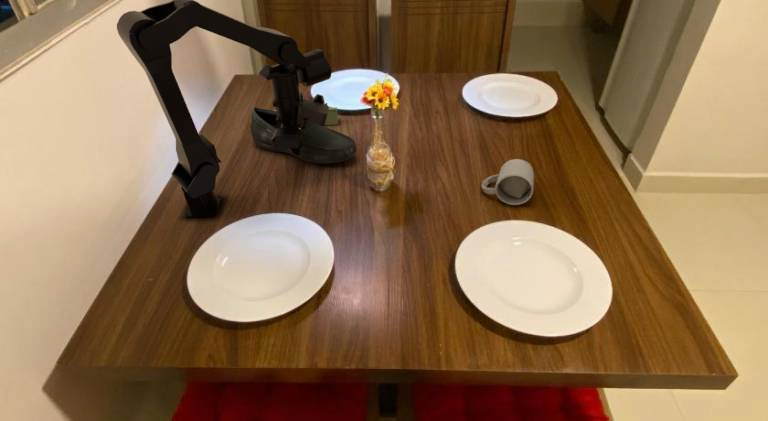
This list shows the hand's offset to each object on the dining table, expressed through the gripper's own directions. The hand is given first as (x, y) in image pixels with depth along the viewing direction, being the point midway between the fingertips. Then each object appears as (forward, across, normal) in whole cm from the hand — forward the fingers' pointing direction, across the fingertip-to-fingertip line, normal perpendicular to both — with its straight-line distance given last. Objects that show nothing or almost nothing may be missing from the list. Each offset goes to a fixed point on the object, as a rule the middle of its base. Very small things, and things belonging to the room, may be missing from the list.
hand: (297, 154), depth 105 cm
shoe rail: (+3, +21, 0) cm, 21 cm away
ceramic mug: (+4, -14, -47) cm, 49 cm away
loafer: (+3, +6, 0) cm, 7 cm away
